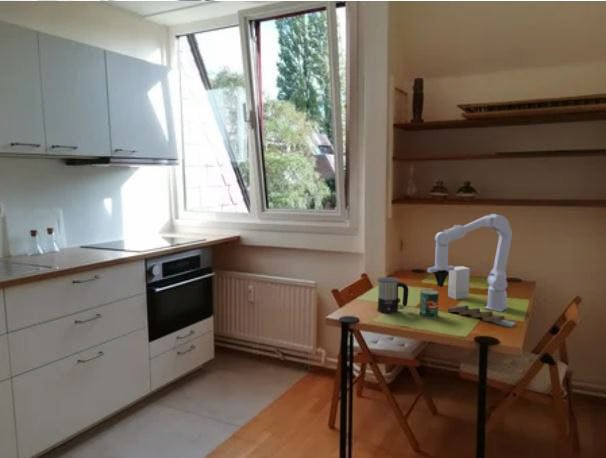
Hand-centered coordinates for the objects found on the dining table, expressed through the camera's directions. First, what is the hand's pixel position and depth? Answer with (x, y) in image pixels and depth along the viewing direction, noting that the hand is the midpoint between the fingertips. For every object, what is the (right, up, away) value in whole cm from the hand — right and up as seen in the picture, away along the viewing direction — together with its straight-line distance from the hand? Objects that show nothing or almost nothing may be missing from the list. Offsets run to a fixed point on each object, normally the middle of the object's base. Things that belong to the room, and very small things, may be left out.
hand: (440, 286), depth 213 cm
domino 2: (+6, -10, -9) cm, 15 cm away
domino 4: (+14, -11, -18) cm, 25 cm away
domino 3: (+11, -11, -13) cm, 20 cm away
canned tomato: (-9, -12, -12) cm, 19 cm away
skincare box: (+14, -8, +18) cm, 24 cm away
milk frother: (-24, -10, -1) cm, 27 cm away
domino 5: (+17, -12, -20) cm, 29 cm away
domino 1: (+3, -10, -6) cm, 12 cm away
